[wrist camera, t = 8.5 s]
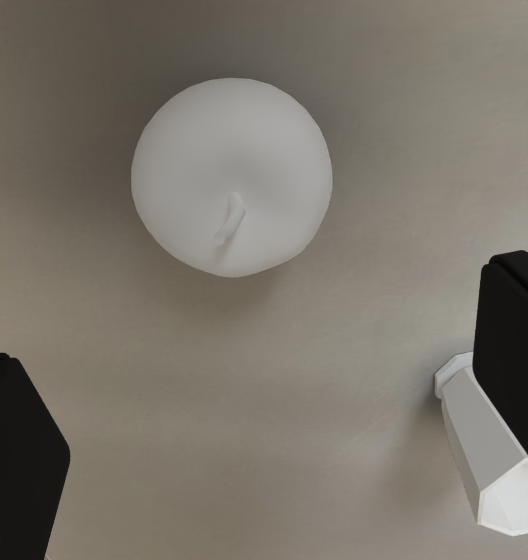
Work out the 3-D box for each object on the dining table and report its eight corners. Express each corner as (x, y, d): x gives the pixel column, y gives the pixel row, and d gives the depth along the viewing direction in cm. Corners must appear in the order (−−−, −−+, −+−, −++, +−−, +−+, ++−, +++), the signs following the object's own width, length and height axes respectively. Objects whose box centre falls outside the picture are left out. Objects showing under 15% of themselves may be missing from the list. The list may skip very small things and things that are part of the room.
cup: (392, 370, 29) (452, 493, 22) (554, 284, 27) (676, 391, 20) (436, 431, 32) (499, 553, 25) (582, 360, 30) (693, 472, 23)
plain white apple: (130, 61, 18) (91, 113, 12) (315, 59, 19) (379, 107, 12) (152, 228, 22) (132, 340, 15) (306, 221, 23) (350, 326, 16)
